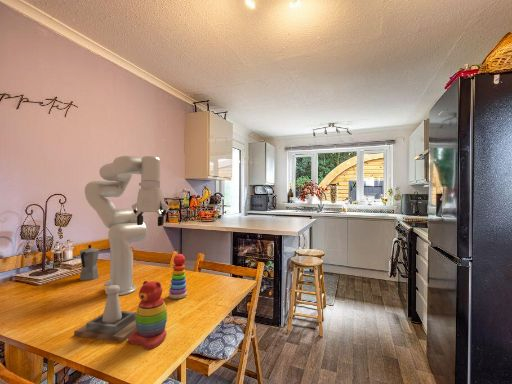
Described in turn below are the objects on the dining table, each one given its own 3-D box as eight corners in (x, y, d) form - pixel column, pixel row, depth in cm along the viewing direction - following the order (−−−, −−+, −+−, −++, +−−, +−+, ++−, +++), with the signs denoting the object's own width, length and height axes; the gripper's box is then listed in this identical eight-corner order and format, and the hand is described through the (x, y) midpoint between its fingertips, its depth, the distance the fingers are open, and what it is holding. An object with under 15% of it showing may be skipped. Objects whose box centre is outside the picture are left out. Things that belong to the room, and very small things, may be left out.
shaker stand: (74, 335, 86) (74, 323, 86) (102, 318, 97) (102, 307, 97) (123, 342, 82) (123, 329, 82) (146, 324, 94) (146, 312, 94)
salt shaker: (101, 330, 86) (102, 290, 86) (102, 323, 91) (103, 284, 91) (121, 326, 89) (122, 287, 89) (121, 319, 94) (122, 282, 94)
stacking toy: (182, 300, 115) (182, 256, 115) (165, 298, 116) (165, 255, 117) (190, 293, 123) (190, 252, 123) (174, 292, 124) (174, 252, 124)
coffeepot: (85, 274, 150) (86, 242, 151) (103, 274, 152) (103, 242, 152) (71, 283, 135) (71, 248, 135) (91, 283, 137) (91, 247, 137)
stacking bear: (124, 342, 82) (125, 284, 82) (149, 327, 91) (150, 275, 92) (151, 350, 78) (151, 289, 78) (174, 334, 87) (175, 279, 87)
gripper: (126, 185, 112) (126, 225, 112) (164, 185, 109) (163, 227, 109) (138, 185, 120) (137, 224, 119) (173, 185, 116) (173, 225, 116)
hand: (150, 225), depth 114 cm, fingers open, 9 cm apart
